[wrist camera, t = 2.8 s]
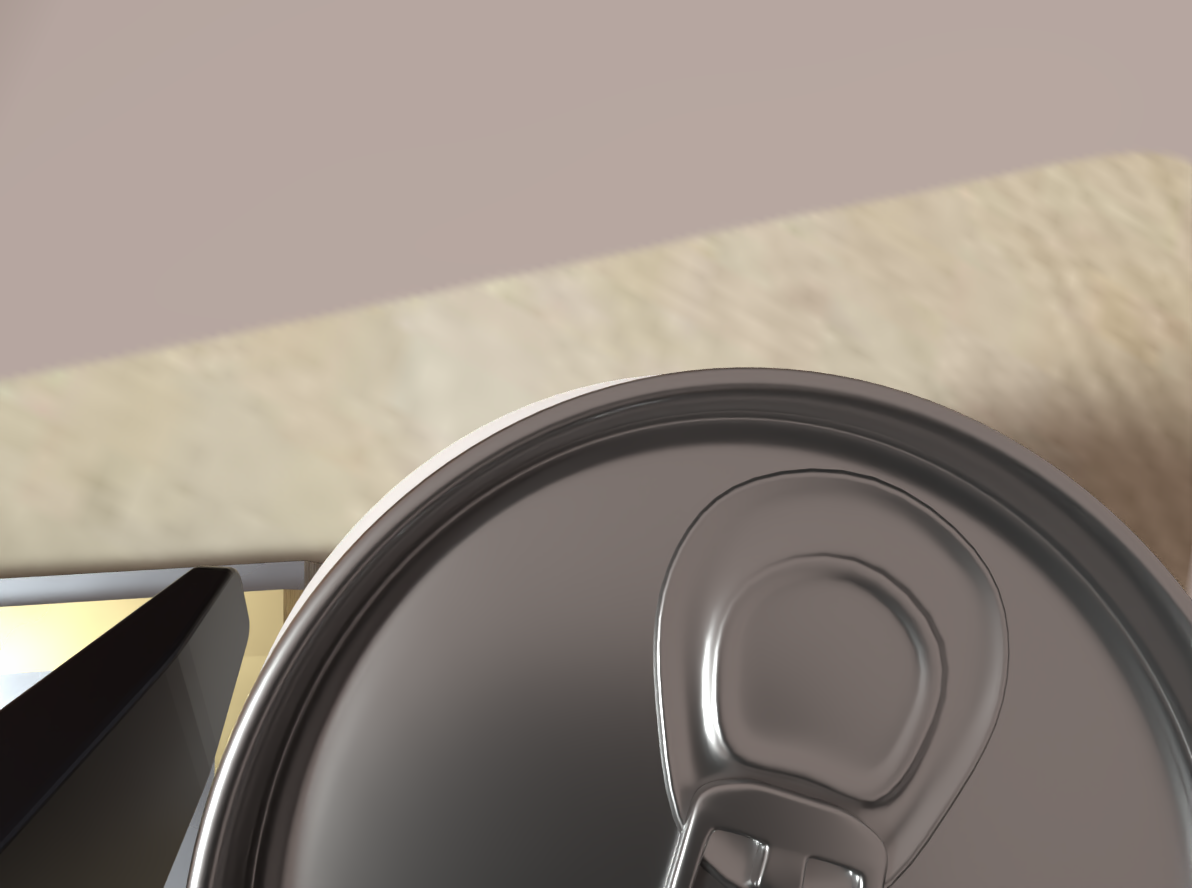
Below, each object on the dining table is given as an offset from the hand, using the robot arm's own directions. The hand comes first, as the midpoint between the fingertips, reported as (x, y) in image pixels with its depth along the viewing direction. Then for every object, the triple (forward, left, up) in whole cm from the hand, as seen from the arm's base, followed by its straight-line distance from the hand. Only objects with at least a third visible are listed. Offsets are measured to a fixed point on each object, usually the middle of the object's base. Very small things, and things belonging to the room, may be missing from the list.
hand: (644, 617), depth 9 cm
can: (-1, 0, -7) cm, 7 cm away
